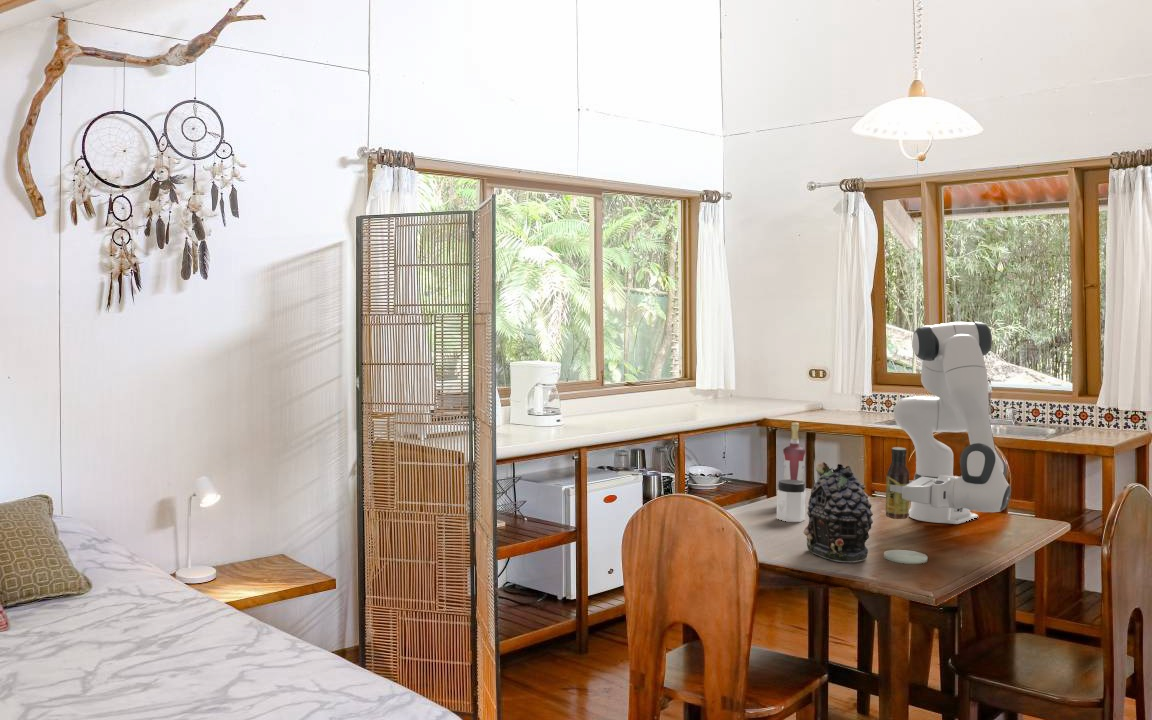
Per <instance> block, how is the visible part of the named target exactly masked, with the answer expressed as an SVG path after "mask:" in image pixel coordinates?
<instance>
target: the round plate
mask: <svg viewBox="0 0 1152 720" xmlns="http://www.w3.org/2000/svg"><path fill="white" fill-rule="evenodd" d="M883 558H884V559H885V560H887V561H889V562H893V563H897V564H903V563H904V564H903V565H922V563H923V564H926V563H928V555H926V554H925V553H923V552H919V551H914V550H908V549H907V550H906V549H889V550H885V551H884V553H883ZM925 562H926V563H925Z"/></svg>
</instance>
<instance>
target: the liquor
mask: <svg viewBox="0 0 1152 720" xmlns="http://www.w3.org/2000/svg"><path fill="white" fill-rule="evenodd" d="M790 430H791V431H790V432H791V433H790V440H789V441H790V443H789V445H788V446H785V447H784V448H783V450H782V453H783V454H782V455H783V458H782V459H783V461H782V463H783V464H782V465H783V466H782V467H783V480H799V481H803V482H804V475H805V474H804V473H805V463H806V462H805V461H806V449H804V447H802V446H800V441H799V438H800V437H799V430H800V423H799V422H791V423H790Z"/></svg>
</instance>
